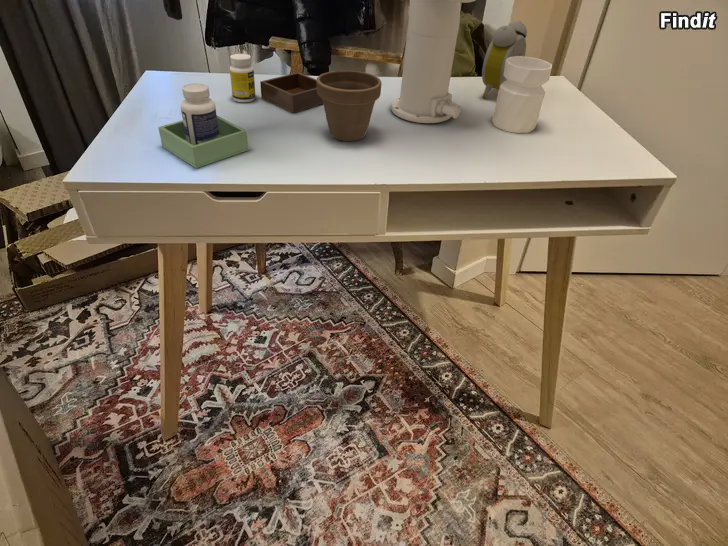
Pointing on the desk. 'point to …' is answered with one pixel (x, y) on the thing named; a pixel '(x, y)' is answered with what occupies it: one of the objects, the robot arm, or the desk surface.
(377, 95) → the flower pot
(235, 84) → the supplement bottle
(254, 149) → the desk surface
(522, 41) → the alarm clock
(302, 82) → the walnut tray
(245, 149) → the green tray
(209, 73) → the desk surface
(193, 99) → the pill bottle
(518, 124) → the vase
